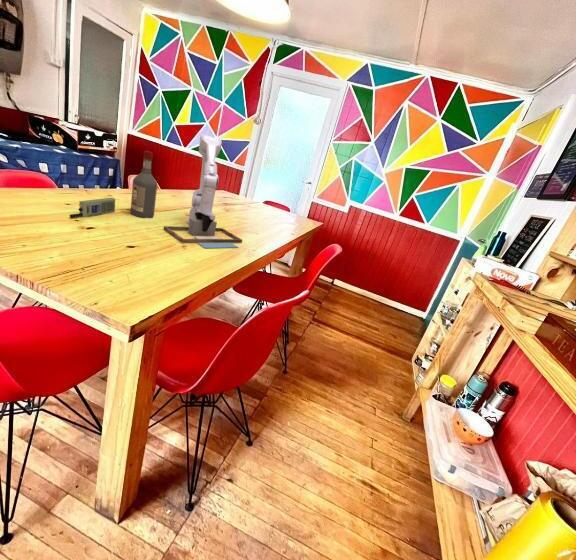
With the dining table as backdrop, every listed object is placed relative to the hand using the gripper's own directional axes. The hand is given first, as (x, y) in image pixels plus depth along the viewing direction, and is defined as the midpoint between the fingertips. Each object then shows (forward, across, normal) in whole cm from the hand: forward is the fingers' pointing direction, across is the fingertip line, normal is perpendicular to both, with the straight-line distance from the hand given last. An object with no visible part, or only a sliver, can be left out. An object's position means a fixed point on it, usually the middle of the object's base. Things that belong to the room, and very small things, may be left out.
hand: (202, 229), depth 152 cm
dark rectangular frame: (+2, +3, 0) cm, 4 cm away
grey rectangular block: (+2, 0, 0) cm, 2 cm away
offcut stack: (+3, +7, 0) cm, 8 cm away
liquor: (+3, -27, -17) cm, 32 cm away
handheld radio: (+3, -23, -39) cm, 46 cm away
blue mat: (+2, +15, 0) cm, 15 cm away
